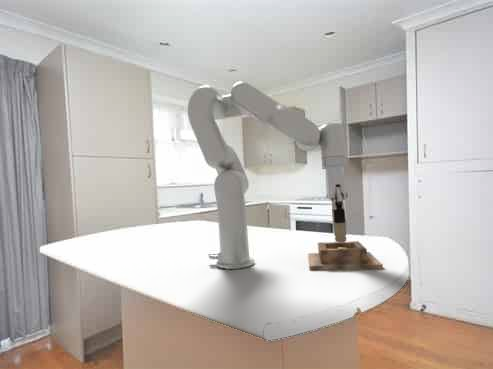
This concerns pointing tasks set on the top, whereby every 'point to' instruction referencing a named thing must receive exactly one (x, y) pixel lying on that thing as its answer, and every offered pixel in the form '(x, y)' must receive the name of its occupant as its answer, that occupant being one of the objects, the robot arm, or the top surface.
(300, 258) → the top surface
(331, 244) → the hub block
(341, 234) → the handle
